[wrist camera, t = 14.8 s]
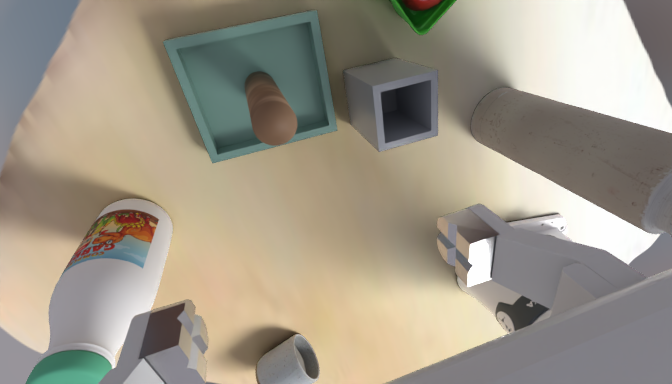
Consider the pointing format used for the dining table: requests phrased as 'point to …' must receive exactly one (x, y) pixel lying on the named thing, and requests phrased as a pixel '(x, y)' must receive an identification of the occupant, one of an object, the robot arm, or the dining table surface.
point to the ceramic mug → (289, 363)
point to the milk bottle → (104, 292)
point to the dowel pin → (269, 110)
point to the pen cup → (392, 102)
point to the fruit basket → (421, 12)
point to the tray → (238, 63)
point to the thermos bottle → (583, 153)
